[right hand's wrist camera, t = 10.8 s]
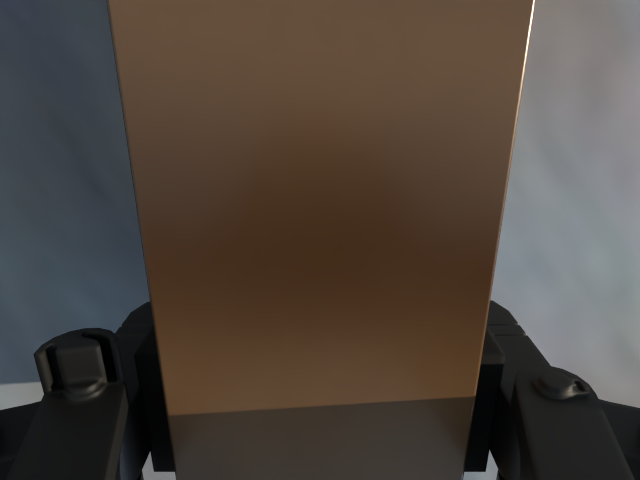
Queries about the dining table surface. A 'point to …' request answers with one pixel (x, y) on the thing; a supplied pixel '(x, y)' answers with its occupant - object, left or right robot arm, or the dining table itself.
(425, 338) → the beam
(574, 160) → the dining table surface
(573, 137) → the dining table surface
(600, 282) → the dining table surface
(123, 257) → the dining table surface
